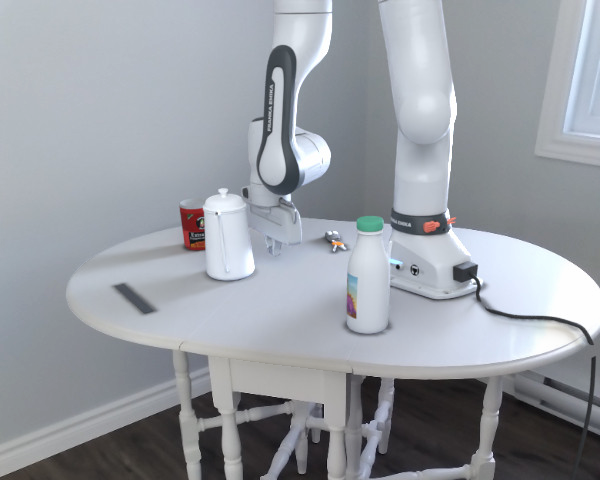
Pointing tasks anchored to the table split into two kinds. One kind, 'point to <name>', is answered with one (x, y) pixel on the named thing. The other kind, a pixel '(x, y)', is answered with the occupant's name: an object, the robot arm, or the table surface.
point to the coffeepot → (227, 237)
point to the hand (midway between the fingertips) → (274, 254)
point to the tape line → (134, 298)
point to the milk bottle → (368, 279)
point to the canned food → (193, 223)
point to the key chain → (334, 239)
